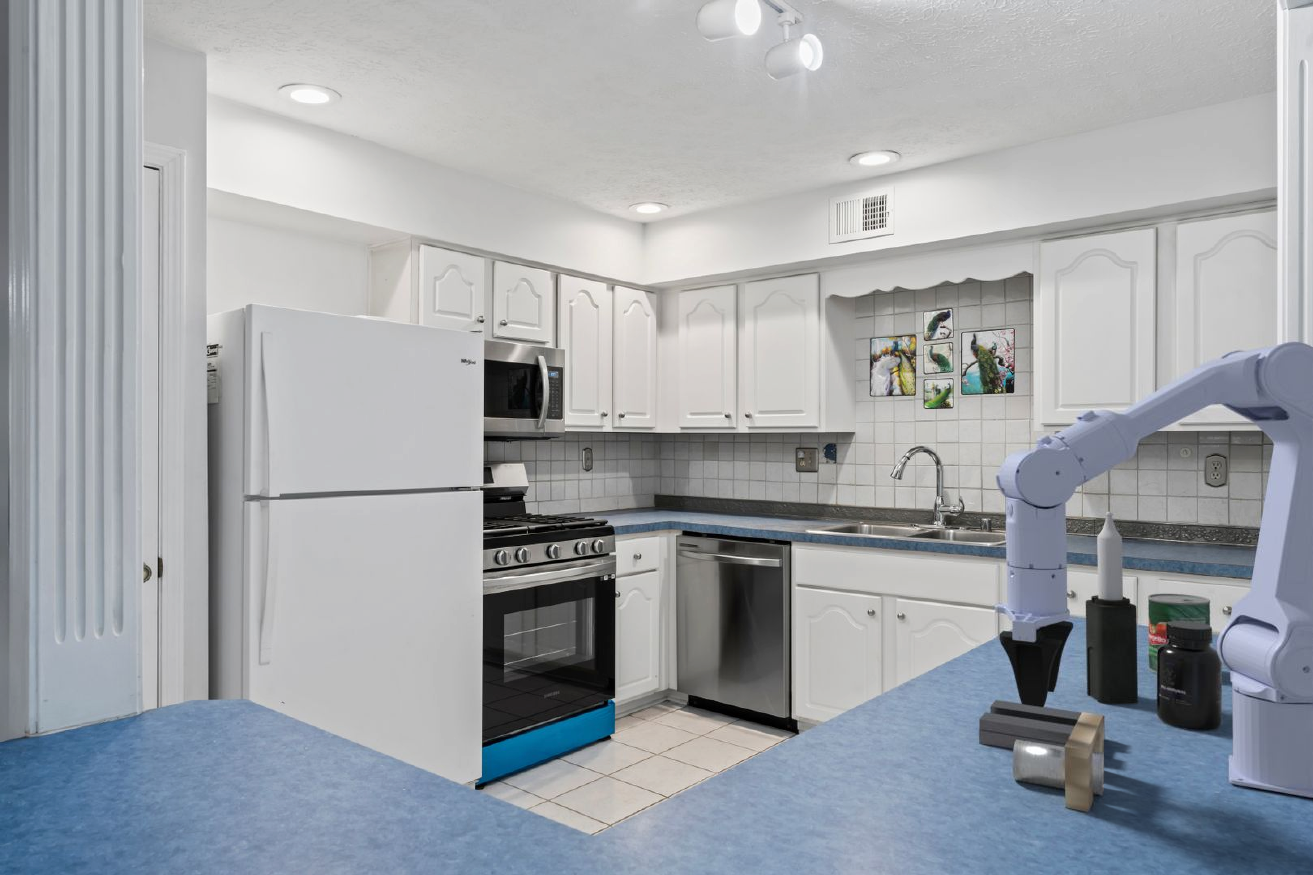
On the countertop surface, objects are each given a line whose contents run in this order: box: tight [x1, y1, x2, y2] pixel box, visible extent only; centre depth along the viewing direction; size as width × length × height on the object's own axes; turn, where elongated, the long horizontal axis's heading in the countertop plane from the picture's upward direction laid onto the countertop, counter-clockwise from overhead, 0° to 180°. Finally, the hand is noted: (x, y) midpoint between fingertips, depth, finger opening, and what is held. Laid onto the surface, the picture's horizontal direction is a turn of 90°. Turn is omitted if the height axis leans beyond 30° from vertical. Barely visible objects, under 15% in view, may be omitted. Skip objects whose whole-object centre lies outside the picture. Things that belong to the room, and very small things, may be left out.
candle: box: [1085, 511, 1139, 705], centre depth 116 cm, size 5×5×25 cm
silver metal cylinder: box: [1012, 740, 1105, 797], centre depth 87 cm, size 8×4×4 cm, turn 59°
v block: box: [978, 699, 1106, 750], centre depth 100 cm, size 12×9×3 cm
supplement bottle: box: [1156, 621, 1223, 732], centre depth 106 cm, size 7×7×12 cm
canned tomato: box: [1147, 593, 1211, 675], centre depth 128 cm, size 8×8×11 cm
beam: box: [1064, 711, 1105, 813], centre depth 87 cm, size 2×12×6 cm, turn 147°
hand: (1038, 697), depth 89 cm, fingers open, 5 cm apart
